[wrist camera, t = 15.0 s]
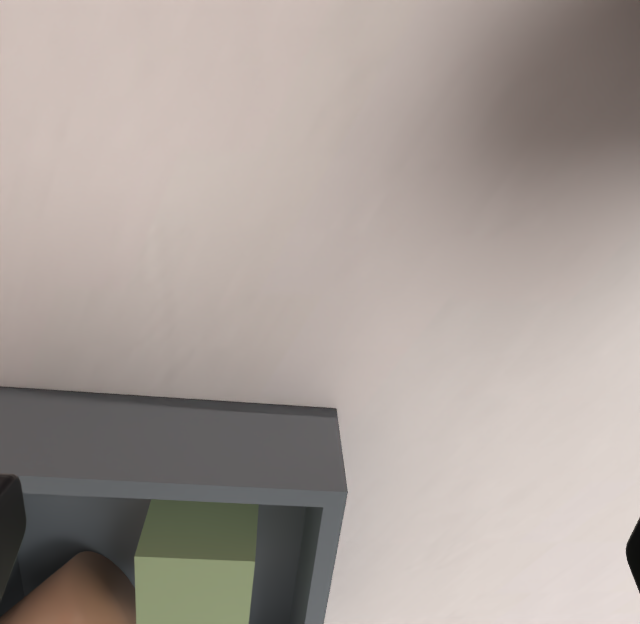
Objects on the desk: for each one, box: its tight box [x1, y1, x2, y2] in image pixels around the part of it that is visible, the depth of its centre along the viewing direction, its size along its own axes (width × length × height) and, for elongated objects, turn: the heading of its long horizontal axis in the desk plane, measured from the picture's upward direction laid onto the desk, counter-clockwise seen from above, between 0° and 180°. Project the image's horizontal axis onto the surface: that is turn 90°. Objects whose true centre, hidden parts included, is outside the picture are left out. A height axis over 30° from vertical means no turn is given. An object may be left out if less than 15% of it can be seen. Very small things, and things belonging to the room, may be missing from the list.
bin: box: [0, 387, 348, 624], centre depth 22 cm, size 13×13×4 cm
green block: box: [134, 499, 259, 624], centre depth 21 cm, size 4×4×4 cm
